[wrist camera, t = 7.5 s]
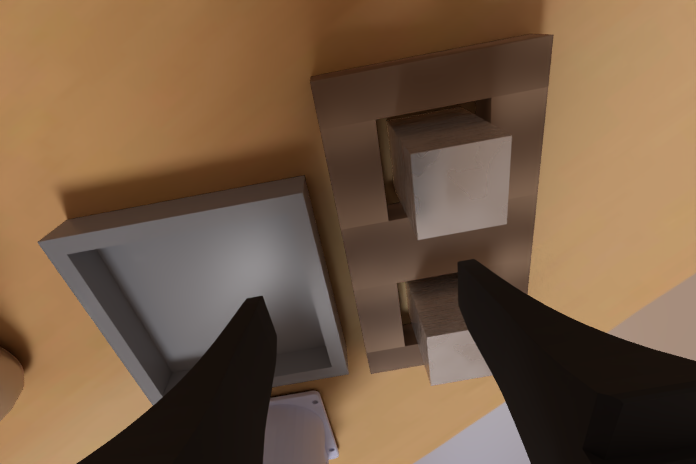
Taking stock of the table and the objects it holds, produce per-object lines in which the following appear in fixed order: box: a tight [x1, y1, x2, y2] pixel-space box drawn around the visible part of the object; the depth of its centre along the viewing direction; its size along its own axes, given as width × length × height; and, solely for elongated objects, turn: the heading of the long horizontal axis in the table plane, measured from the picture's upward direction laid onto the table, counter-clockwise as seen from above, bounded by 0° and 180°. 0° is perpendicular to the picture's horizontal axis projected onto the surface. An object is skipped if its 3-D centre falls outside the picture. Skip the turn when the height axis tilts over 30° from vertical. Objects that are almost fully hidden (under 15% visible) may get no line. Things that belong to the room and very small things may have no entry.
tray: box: [38, 176, 349, 405], centre depth 23 cm, size 14×14×2 cm
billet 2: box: [405, 272, 492, 386], centre depth 23 cm, size 4×4×6 cm
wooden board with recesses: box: [310, 34, 553, 374], centre depth 22 cm, size 20×11×2 cm, turn 10°
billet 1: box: [386, 107, 512, 240], centre depth 18 cm, size 4×4×6 cm
